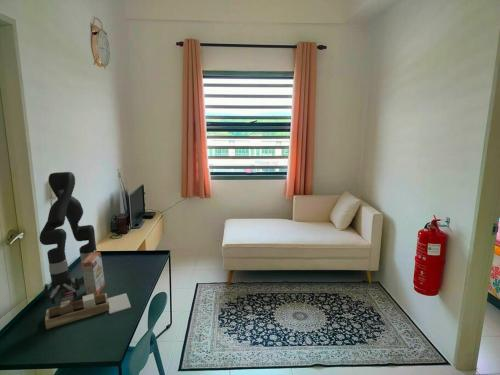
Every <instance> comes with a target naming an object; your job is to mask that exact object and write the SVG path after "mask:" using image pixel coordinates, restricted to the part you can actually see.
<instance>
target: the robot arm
mask: <svg viewBox="0 0 500 375" xmlns="http://www.w3.org/2000/svg"><path fill="white" fill-rule="evenodd" d="M47 179H48V184H49V187H50V188H51V190H52V192H53V193H54V195H55V197H56V198H57V199H55V201H54V203H52V205H51V206H50V208H49V212H48V217H47V220H46V223H45V224H44V226H43V228H42V230H41V232H40V234H39V237H38V238H39V242H40V244H42V246H51V245H56V247H54V248H50V249H49V250H48V251H47V253H46V254H47V261H48V270H49V274H50V279H51V283H49V284H48V283H46V284H44V287H43V290H44V295H45V296H44V298H46V299H48V298H49V299H50V302H51V305H53V306H54V305H56V298H55V295H56V294H57V293H58V292H62V291H65V290H66V291H67V289H68V291H70V290H71V291H73V296H74V299H75V300H76V299H77V297H78V295H77V294H78V291H79V290H80V289H81V285H80V283H79V279H78V278H79V277H78V276H74V277H73V278H71V276H70V270H69V264H68V260H67V257H66V242H67V232H66V230H65V229H63V228H61V227H63V226H64V225H65V220H66V219H67V221H68V224H69V227H70V228H71V232H72V235H73V238H74V239H75V241H76V242H86V241H87V243H86V244H84V245H82V246H80V247H79V256H80V261H81V263H82V262H83V261H84V260H85V259H86V258H87V257H88V255H89V254H90V253H97V252H98V250H97V242H96V234H95V232H96V231H95V228H94V226H93V224H87V225H79V223H80V220H82V217H83V215H84V210H83V209H84V208H83V206H82V204H81V202H80V201H79V200H78V198H76V197H74V196H73V192H74V189H75V186H76V177H75V175H74V173H73V172H71V171H63V172H62V171H60V172H58V171H57V172H52V173H50V174H49V176H48V178H47ZM72 282H73V283H75V286H73V285H72ZM50 288H52V289H53V290H52V292H51V293H49V289H50ZM76 291H77V293H76Z"/></svg>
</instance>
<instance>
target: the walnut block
mask: <svg viewBox="0 0 500 375" xmlns="http://www.w3.org/2000/svg"><path fill="white" fill-rule="evenodd" d="M58 304H59V303H58ZM58 306H59V310H60V314H59V316H62V315H65V314H69V313H72V312H74V310H73V306H72V301H71V300H68V301H64V302H60V304H59V305H58Z"/></svg>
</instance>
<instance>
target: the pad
mask: <svg viewBox="0 0 500 375" xmlns="http://www.w3.org/2000/svg"><path fill="white" fill-rule="evenodd" d="M108 301H109V307H110V309H109V311H108V313H109V315H111V314H115V313H119V312H122V311H124V310H129V309H131V308H132V306H131V303H130V300H129V296H128V295H127V292H125V293H121V294H119V295H118V294H117V295H114V296H111V297H108Z"/></svg>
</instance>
